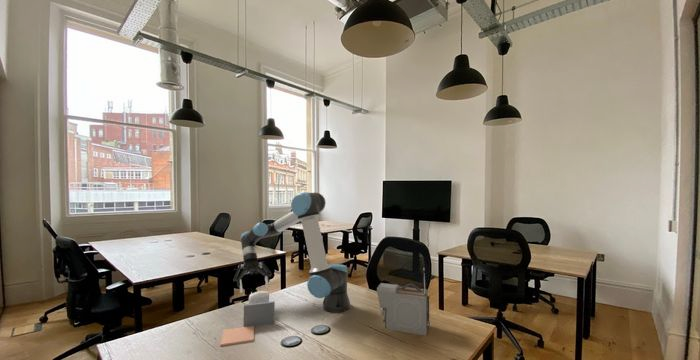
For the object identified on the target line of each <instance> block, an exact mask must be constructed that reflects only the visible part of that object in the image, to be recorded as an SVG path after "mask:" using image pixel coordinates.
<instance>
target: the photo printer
mask: <svg viewBox="0 0 700 360" xmlns="http://www.w3.org/2000/svg"><path fill="white" fill-rule="evenodd" d="M263 302H270V293H269V291H267V290H266V291H265V290H261V291H260V290H259V291H255V292H253V293H250V294H249V295H248V304H255V303H263Z"/></svg>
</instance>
